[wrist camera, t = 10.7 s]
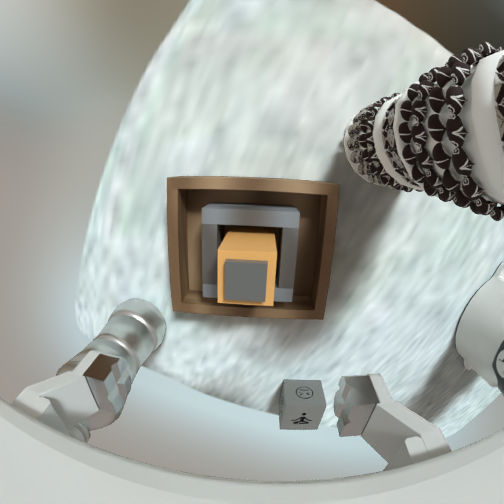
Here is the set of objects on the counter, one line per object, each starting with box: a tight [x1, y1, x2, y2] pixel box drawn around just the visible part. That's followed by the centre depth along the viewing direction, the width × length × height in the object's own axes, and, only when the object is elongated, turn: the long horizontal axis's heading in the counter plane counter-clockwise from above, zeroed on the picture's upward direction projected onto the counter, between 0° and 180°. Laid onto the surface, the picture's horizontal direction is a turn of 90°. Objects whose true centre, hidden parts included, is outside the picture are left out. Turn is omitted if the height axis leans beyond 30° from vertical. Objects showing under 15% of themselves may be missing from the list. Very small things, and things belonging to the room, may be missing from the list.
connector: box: [218, 225, 277, 306], centre depth 23 cm, size 4×4×10 cm
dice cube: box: [279, 379, 326, 430], centre depth 32 cm, size 5×5×5 cm
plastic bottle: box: [56, 299, 166, 443], centre depth 23 cm, size 6×7×20 cm
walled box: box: [167, 176, 340, 320], centre depth 26 cm, size 15×13×5 cm
